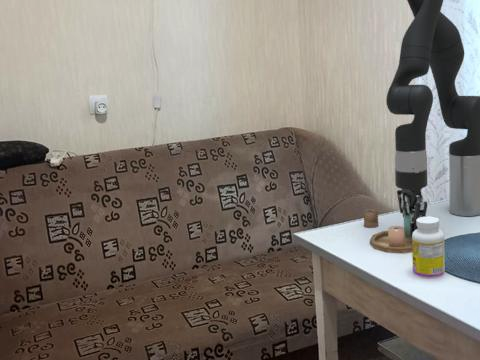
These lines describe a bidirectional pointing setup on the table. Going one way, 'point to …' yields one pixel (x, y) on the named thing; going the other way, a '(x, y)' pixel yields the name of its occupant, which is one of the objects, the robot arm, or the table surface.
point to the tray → (382, 243)
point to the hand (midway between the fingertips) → (412, 234)
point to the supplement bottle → (428, 248)
